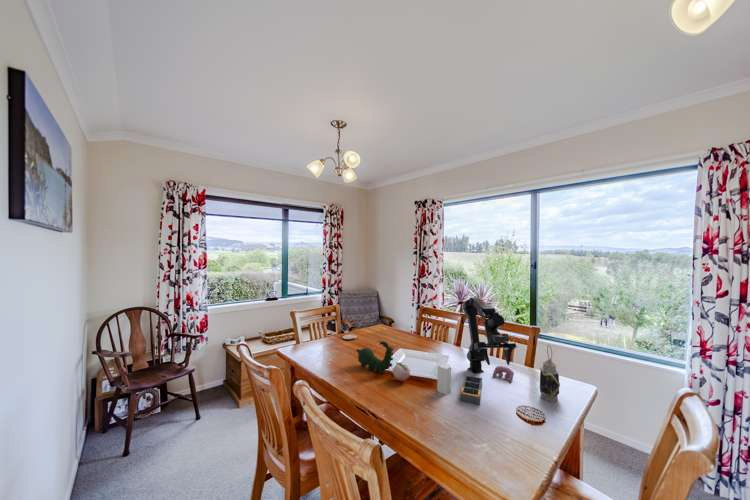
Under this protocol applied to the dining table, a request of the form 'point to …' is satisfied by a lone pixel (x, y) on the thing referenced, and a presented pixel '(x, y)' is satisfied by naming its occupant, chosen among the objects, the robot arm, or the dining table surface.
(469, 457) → the dining table surface
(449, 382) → the light grey block
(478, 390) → the rack
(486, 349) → the robot arm
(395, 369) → the decorative fruit
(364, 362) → the toy figurine
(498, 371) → the video game controller
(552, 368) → the lantern
